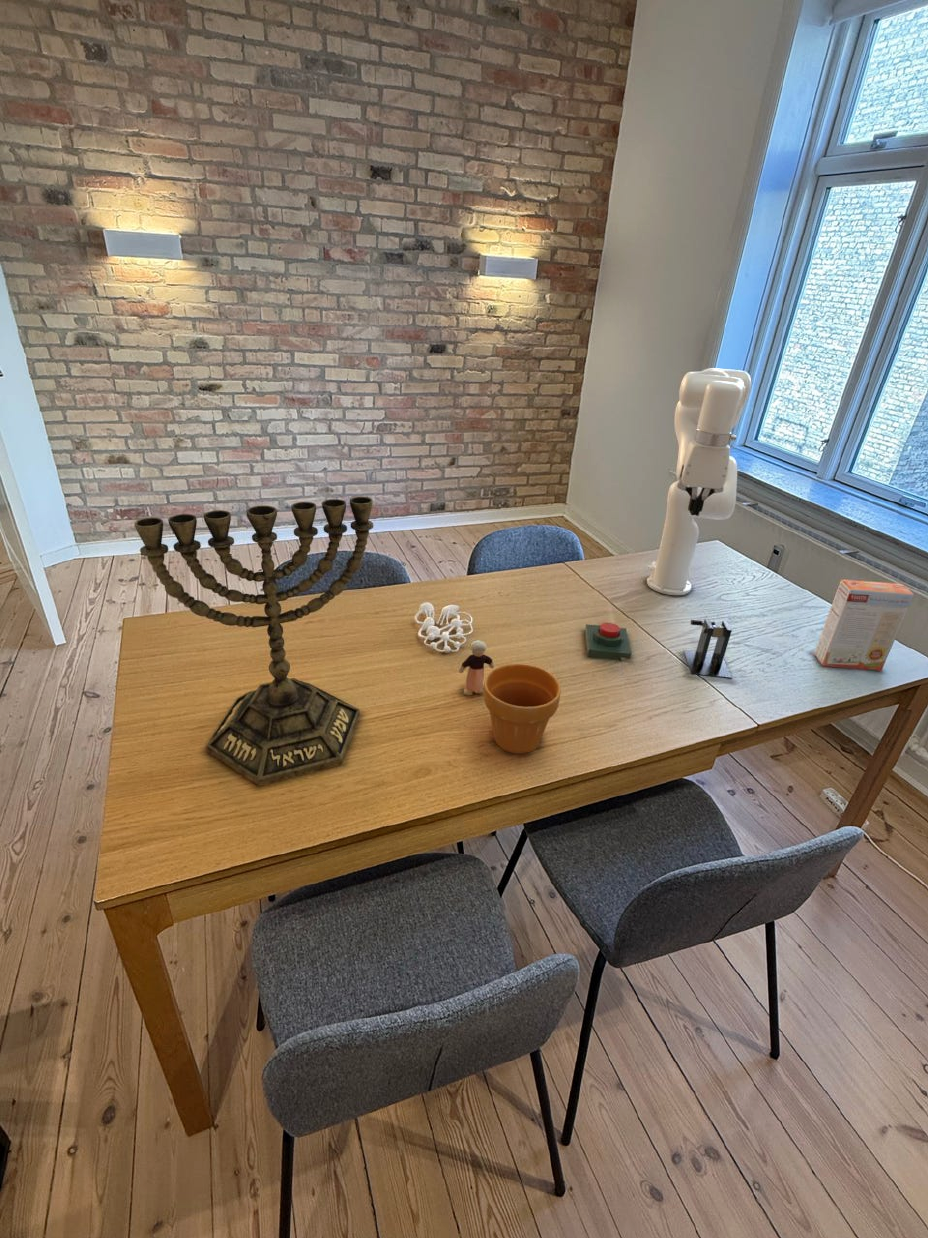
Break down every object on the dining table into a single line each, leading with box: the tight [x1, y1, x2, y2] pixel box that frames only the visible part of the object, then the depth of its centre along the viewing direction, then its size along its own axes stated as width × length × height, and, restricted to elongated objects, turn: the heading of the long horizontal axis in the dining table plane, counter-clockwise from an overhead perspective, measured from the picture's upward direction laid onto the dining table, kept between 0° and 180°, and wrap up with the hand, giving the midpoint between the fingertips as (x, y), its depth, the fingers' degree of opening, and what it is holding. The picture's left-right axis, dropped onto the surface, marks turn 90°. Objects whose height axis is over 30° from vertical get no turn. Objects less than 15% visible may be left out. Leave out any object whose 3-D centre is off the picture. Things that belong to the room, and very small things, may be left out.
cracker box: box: [813, 579, 915, 672], centre depth 150 cm, size 14×6×21 cm, turn 84°
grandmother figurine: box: [458, 639, 495, 697], centre depth 135 cm, size 8×4×13 cm, turn 118°
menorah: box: [133, 496, 374, 787], centre depth 112 cm, size 36×25×45 cm
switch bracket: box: [683, 618, 733, 680], centre depth 147 cm, size 10×9×12 cm
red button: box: [599, 622, 621, 638], centre depth 154 cm, size 5×5×2 cm
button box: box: [584, 624, 632, 661], centre depth 156 cm, size 12×10×4 cm
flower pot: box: [483, 663, 562, 754], centre depth 122 cm, size 14×14×13 cm
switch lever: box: [690, 619, 724, 639], centre depth 150 cm, size 13×6×2 cm, turn 173°
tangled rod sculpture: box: [414, 602, 474, 654], centre depth 157 cm, size 19×14×4 cm
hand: (693, 513), depth 157 cm, fingers closed
